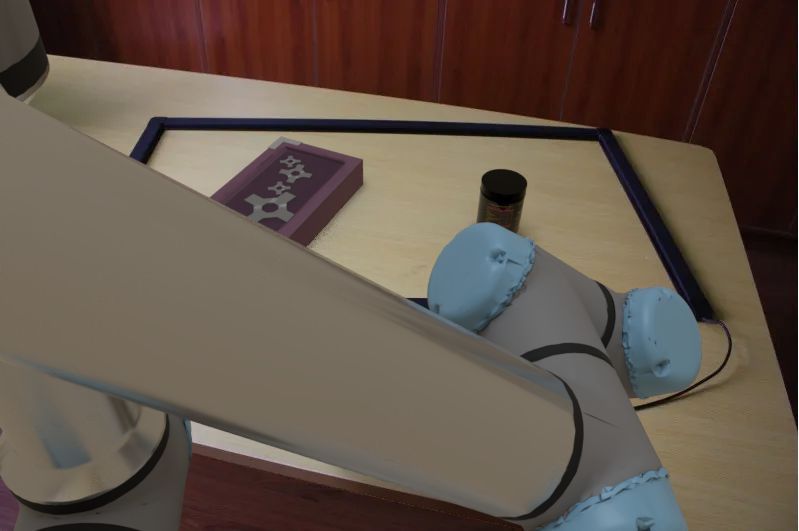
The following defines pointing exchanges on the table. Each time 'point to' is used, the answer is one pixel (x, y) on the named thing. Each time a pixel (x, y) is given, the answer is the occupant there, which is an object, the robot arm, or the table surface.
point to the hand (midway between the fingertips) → (377, 390)
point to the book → (293, 188)
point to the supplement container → (502, 198)
